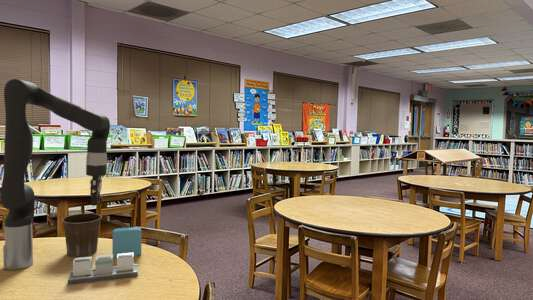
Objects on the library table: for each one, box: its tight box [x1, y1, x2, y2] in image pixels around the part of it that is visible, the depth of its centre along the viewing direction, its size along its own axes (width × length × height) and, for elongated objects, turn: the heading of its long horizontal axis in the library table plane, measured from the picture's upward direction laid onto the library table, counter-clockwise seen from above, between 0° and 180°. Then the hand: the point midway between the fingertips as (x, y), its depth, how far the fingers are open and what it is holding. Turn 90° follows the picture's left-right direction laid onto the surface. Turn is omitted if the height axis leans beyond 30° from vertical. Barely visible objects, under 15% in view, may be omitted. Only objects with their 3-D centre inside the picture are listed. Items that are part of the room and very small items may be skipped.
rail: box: [67, 252, 139, 286], centre depth 136 cm, size 24×8×8 cm, turn 111°
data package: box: [111, 226, 142, 259], centre depth 158 cm, size 12×4×12 cm, turn 112°
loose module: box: [94, 253, 114, 276], centre depth 136 cm, size 6×5×6 cm
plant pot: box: [61, 213, 103, 258], centre depth 160 cm, size 16×16×16 cm
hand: (95, 203), depth 143 cm, fingers open, 8 cm apart
